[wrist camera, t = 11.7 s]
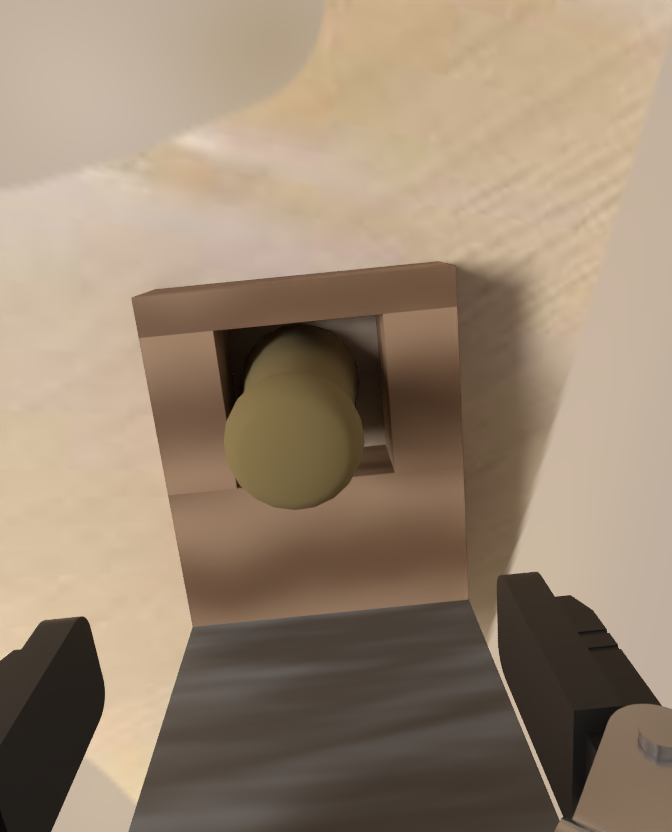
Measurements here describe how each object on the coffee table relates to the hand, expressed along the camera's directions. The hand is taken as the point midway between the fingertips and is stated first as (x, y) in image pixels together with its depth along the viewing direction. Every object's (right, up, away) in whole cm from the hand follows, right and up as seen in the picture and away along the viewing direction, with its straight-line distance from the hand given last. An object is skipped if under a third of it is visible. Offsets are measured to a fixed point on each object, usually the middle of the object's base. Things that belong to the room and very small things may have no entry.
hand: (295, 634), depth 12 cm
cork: (-1, +6, +20) cm, 21 cm away
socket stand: (0, +3, +21) cm, 21 cm away
